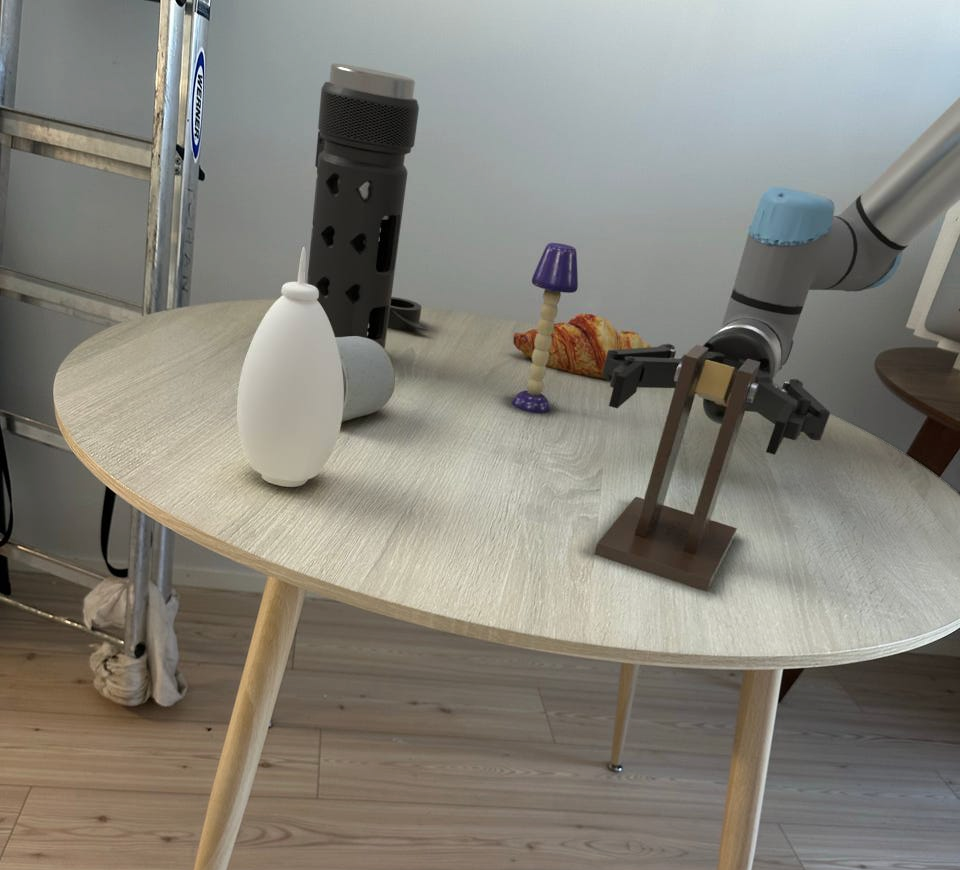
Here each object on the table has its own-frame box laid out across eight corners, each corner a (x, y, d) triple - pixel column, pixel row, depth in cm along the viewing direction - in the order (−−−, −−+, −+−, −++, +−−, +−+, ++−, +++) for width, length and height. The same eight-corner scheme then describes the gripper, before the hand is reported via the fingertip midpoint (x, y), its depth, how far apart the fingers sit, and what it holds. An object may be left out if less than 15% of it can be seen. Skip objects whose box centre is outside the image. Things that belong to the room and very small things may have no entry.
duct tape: (424, 321, 133) (428, 298, 131) (426, 342, 124) (430, 318, 123) (365, 311, 131) (368, 288, 130) (363, 332, 123) (366, 307, 121)
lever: (698, 419, 89) (712, 378, 88) (739, 431, 88) (753, 390, 87) (682, 397, 75) (699, 348, 74) (730, 410, 74) (747, 361, 74)
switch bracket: (631, 511, 89) (681, 329, 81) (732, 542, 87) (793, 359, 79) (592, 559, 79) (645, 357, 71) (705, 596, 77) (772, 392, 69)
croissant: (660, 402, 132) (668, 340, 131) (691, 388, 122) (700, 321, 122) (501, 376, 128) (509, 311, 127) (520, 359, 118) (528, 290, 117)
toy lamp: (498, 402, 108) (529, 238, 100) (529, 399, 111) (561, 239, 103) (529, 418, 106) (564, 251, 97) (560, 414, 109) (596, 252, 100)
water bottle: (274, 349, 110) (349, 378, 107) (296, 56, 96) (383, 77, 93) (329, 338, 118) (402, 365, 114) (357, 65, 104) (441, 84, 100)
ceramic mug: (396, 421, 98) (406, 340, 94) (343, 437, 91) (351, 352, 88) (310, 389, 102) (316, 311, 98) (253, 403, 95) (258, 320, 92)
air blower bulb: (315, 513, 77) (340, 268, 68) (217, 489, 78) (229, 242, 68) (346, 478, 84) (372, 250, 75) (255, 456, 84) (270, 228, 75)
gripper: (848, 436, 100) (829, 501, 83) (610, 368, 107) (544, 415, 89) (877, 361, 97) (863, 412, 79) (628, 295, 103) (563, 329, 85)
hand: (694, 414), depth 84 cm, fingers open, 13 cm apart
